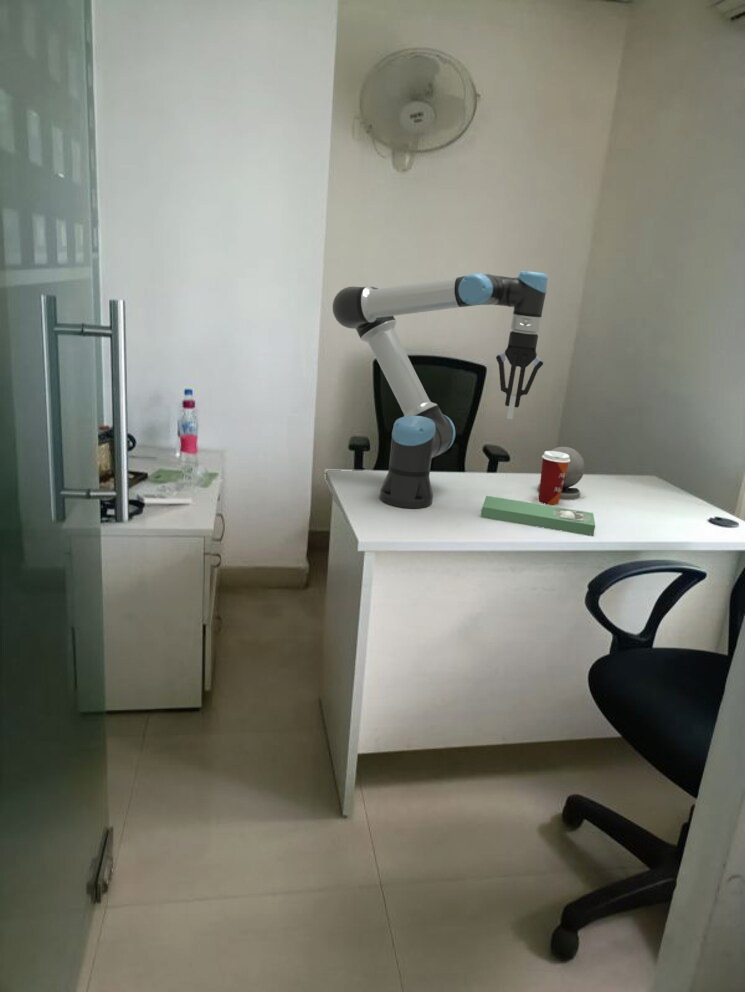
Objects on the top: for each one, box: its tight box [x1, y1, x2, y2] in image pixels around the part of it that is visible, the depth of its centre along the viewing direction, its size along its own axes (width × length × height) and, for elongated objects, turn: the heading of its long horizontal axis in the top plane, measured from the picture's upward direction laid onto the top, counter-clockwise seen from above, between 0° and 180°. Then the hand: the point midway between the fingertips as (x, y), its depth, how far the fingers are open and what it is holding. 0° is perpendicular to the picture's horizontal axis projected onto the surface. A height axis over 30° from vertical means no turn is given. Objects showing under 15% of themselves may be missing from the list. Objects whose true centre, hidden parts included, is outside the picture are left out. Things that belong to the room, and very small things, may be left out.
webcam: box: [537, 446, 586, 501], centre depth 221 cm, size 13×13×15 cm
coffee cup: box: [537, 450, 570, 506], centre depth 212 cm, size 8×8×15 cm
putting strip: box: [480, 495, 596, 537], centre depth 196 cm, size 30×11×3 cm, turn 76°
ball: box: [561, 511, 575, 519], centre depth 194 cm, size 4×4×4 cm
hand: (509, 418), depth 197 cm, fingers closed
